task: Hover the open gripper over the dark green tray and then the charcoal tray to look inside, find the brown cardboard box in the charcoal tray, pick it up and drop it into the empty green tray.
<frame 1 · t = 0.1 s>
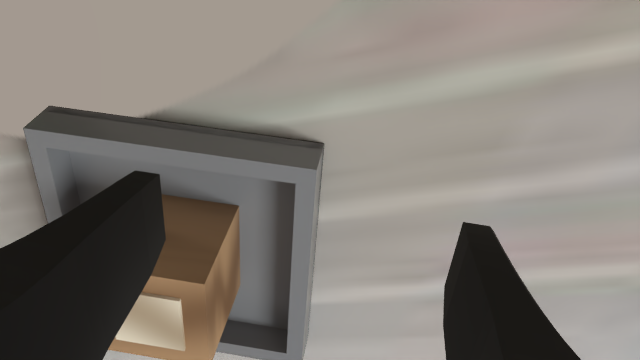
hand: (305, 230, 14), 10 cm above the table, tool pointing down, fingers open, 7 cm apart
charcoal tray: (192, 232, 28), on the table
brown cardboard box: (188, 239, 28), resting on charcoal tray
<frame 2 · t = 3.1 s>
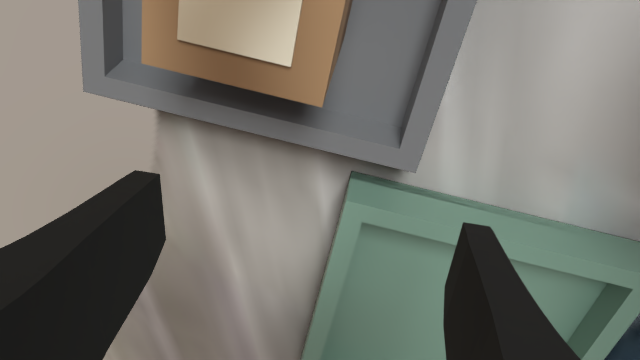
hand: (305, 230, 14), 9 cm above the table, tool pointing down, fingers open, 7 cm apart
green tray: (451, 308, 27), on the table
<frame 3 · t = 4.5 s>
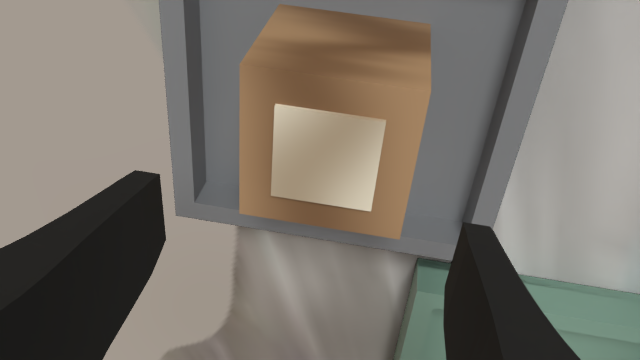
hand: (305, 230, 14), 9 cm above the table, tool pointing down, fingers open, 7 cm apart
charcoal tray: (347, 77, 21), on the table
brown cardboard box: (346, 83, 20), resting on charcoal tray
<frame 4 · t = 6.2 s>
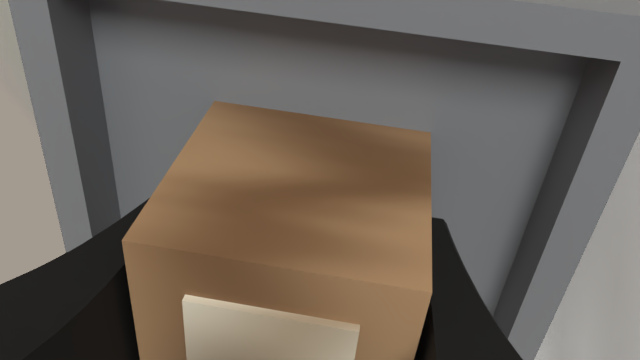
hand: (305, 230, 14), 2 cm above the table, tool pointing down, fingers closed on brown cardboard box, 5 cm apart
charcoal tray: (315, 191, 15), on the table
brown cardboard box: (312, 203, 15), resting on charcoal tray, touching gripper
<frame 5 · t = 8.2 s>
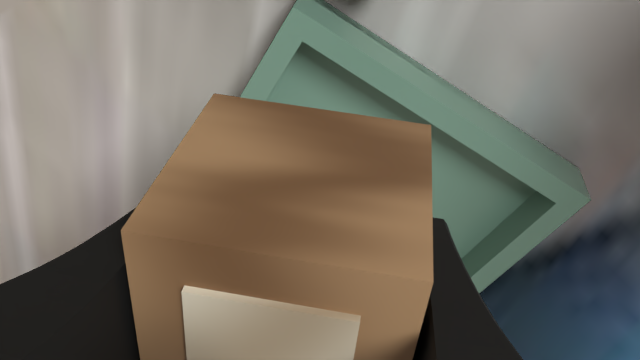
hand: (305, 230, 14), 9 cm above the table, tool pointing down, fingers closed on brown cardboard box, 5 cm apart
green tray: (356, 193, 24), on the table
brown cardboard box: (312, 196, 15), point 8 cm above the table, touching gripper
when the fingers open (3 cm above the table, at t = 10.6 s): brown cardboard box drops 1 cm, resting on green tray.
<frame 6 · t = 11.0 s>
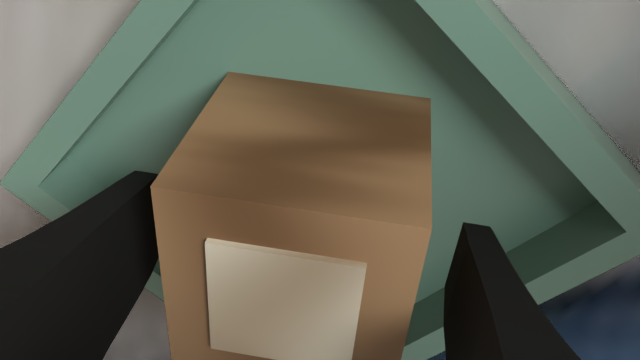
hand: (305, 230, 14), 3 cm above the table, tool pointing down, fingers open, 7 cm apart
green tray: (323, 164, 16), on the table
brown cardboard box: (320, 169, 16), resting on green tray
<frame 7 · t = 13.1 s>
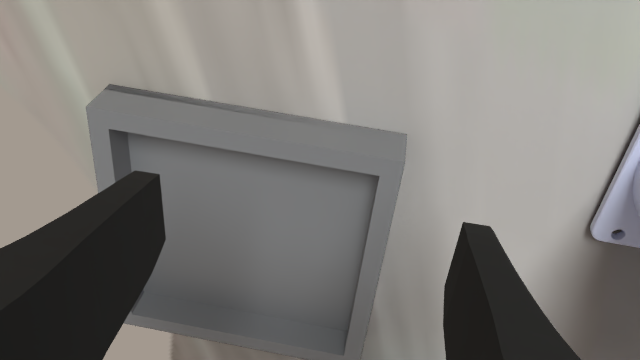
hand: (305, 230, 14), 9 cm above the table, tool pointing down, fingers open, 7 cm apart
charcoal tray: (250, 225, 26), on the table
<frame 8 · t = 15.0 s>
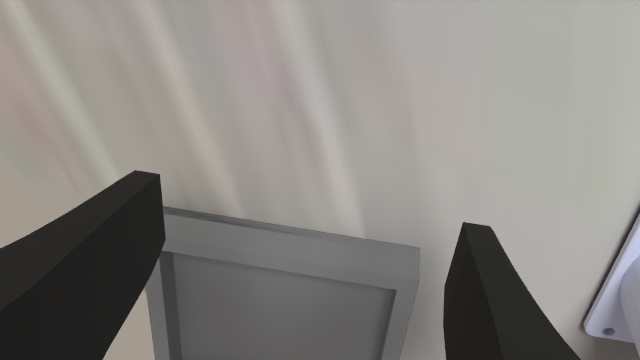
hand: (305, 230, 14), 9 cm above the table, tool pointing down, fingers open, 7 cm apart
charcoal tray: (280, 317, 30), on the table
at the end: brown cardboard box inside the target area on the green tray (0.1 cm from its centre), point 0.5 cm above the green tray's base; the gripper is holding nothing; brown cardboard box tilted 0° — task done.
